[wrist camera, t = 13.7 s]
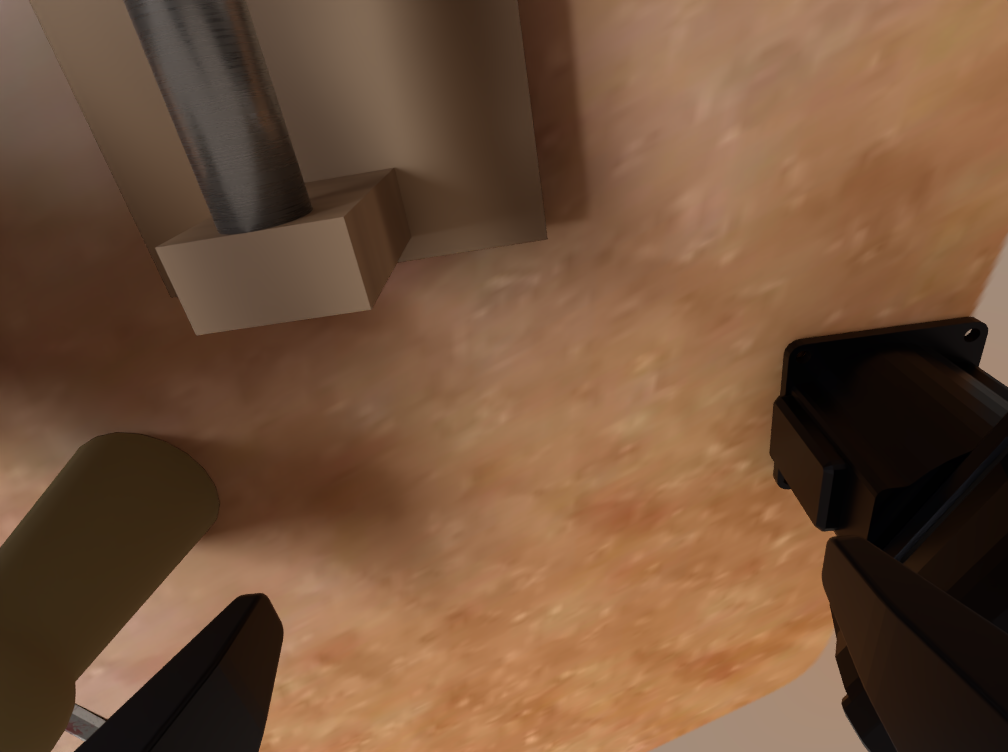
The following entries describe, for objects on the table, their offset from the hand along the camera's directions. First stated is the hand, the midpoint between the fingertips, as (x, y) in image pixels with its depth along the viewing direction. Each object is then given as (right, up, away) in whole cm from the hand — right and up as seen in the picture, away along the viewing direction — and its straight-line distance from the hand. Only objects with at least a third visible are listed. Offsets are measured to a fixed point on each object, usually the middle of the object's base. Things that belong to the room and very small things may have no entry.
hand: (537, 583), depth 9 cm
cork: (-16, -1, +15) cm, 22 cm away
